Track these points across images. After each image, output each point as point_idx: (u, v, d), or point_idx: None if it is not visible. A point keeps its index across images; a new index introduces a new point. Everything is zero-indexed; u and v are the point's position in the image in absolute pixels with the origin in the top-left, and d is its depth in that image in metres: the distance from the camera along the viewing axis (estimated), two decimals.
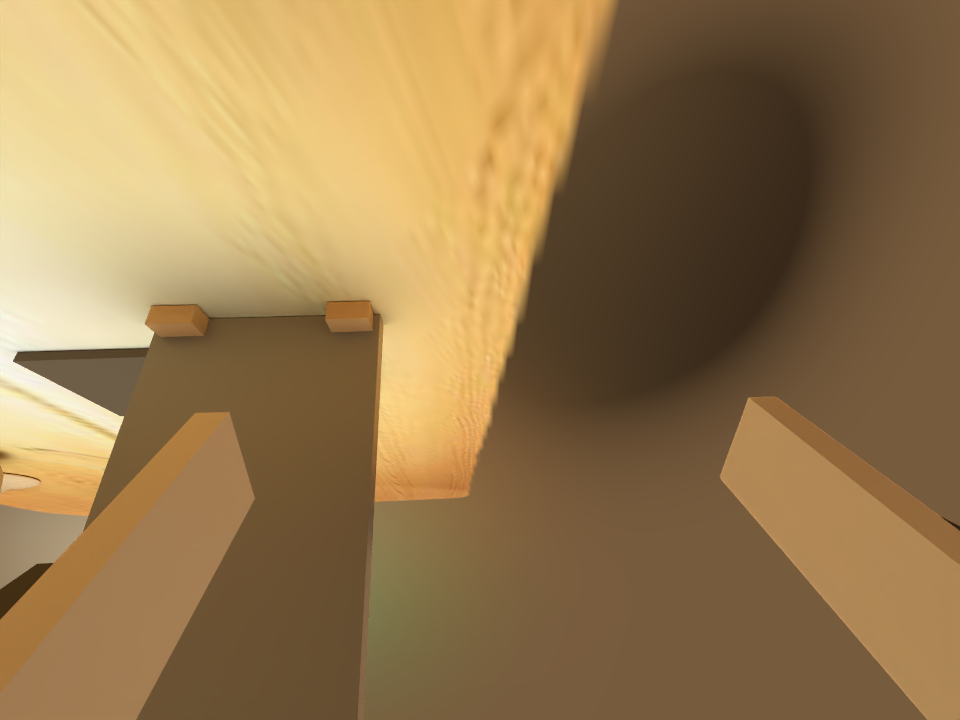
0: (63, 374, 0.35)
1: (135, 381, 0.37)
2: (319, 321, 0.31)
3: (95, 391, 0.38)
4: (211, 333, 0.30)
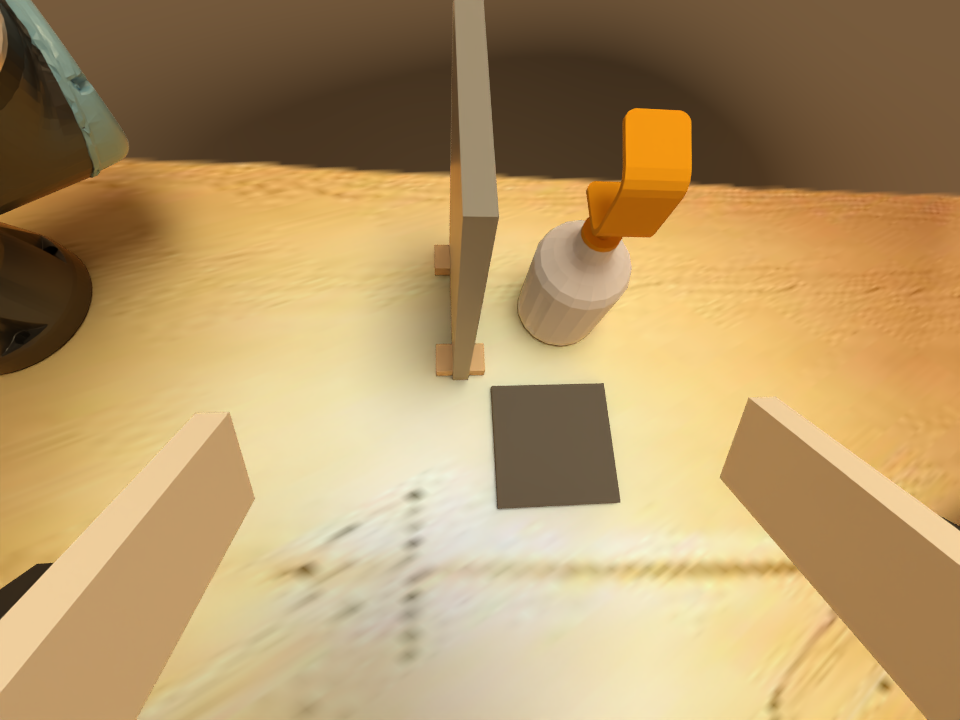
0: (522, 487, 0.40)
1: (536, 439, 0.42)
2: None
3: (558, 485, 0.40)
4: None
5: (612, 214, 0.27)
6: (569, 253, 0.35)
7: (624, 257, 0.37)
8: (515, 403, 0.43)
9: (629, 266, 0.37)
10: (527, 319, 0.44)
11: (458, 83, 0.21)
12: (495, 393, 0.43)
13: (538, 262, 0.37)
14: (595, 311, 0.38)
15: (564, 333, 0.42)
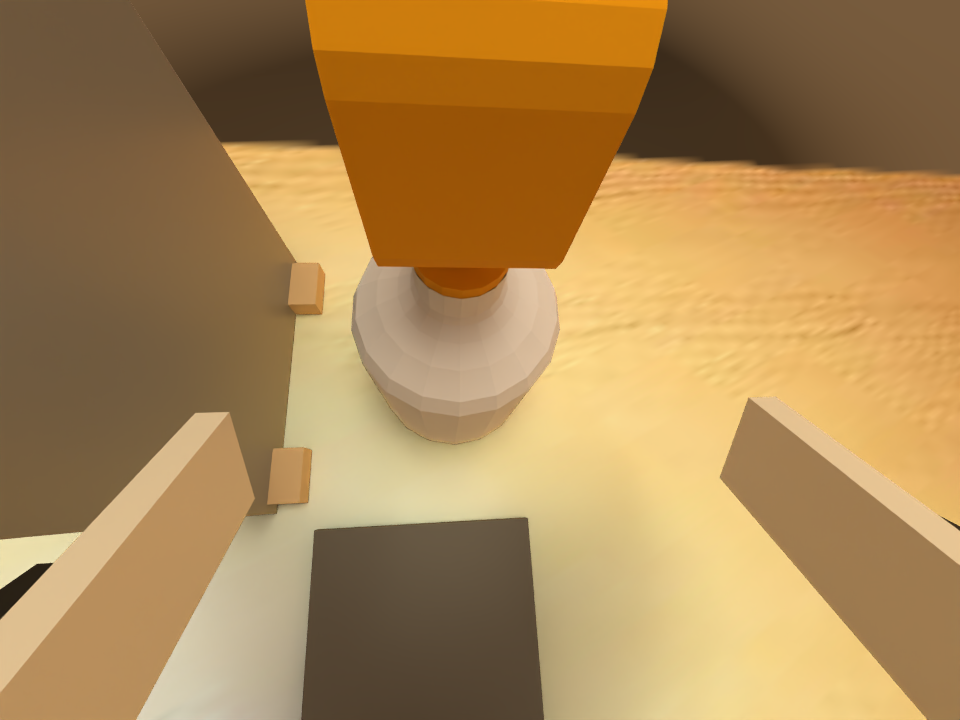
0: None
1: (389, 641, 0.22)
2: None
3: None
4: None
5: (367, 191, 0.07)
6: (404, 294, 0.15)
7: (538, 300, 0.17)
8: (355, 565, 0.23)
9: (551, 318, 0.17)
10: (386, 401, 0.24)
11: None
12: (319, 544, 0.23)
13: (354, 310, 0.17)
14: (480, 414, 0.17)
15: (445, 434, 0.22)
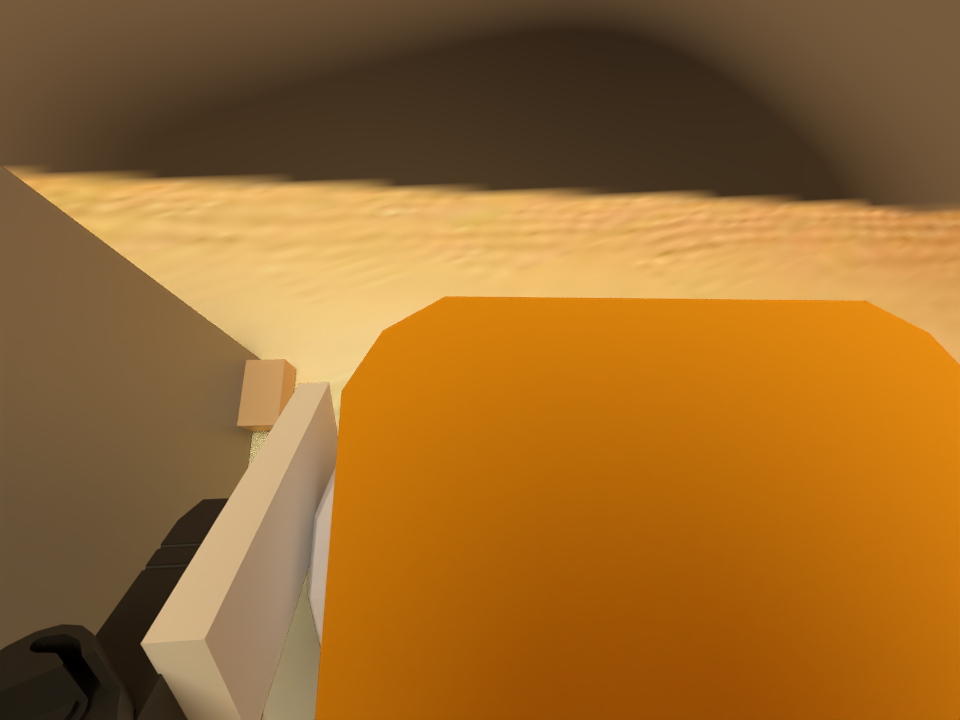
0: None
1: None
2: None
3: None
4: None
5: None
6: None
7: None
8: None
9: None
10: None
11: None
12: None
13: (312, 563, 0.09)
14: None
15: None
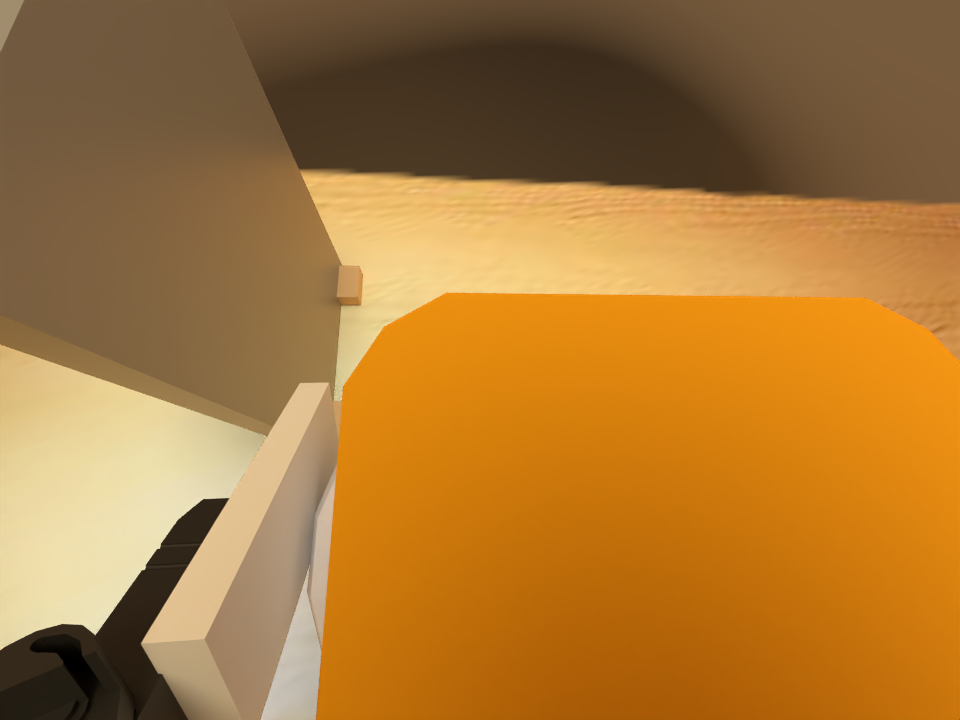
0: None
1: None
2: None
3: None
4: None
5: None
6: None
7: None
8: None
9: None
10: None
11: None
12: None
13: (312, 562, 0.09)
14: None
15: None
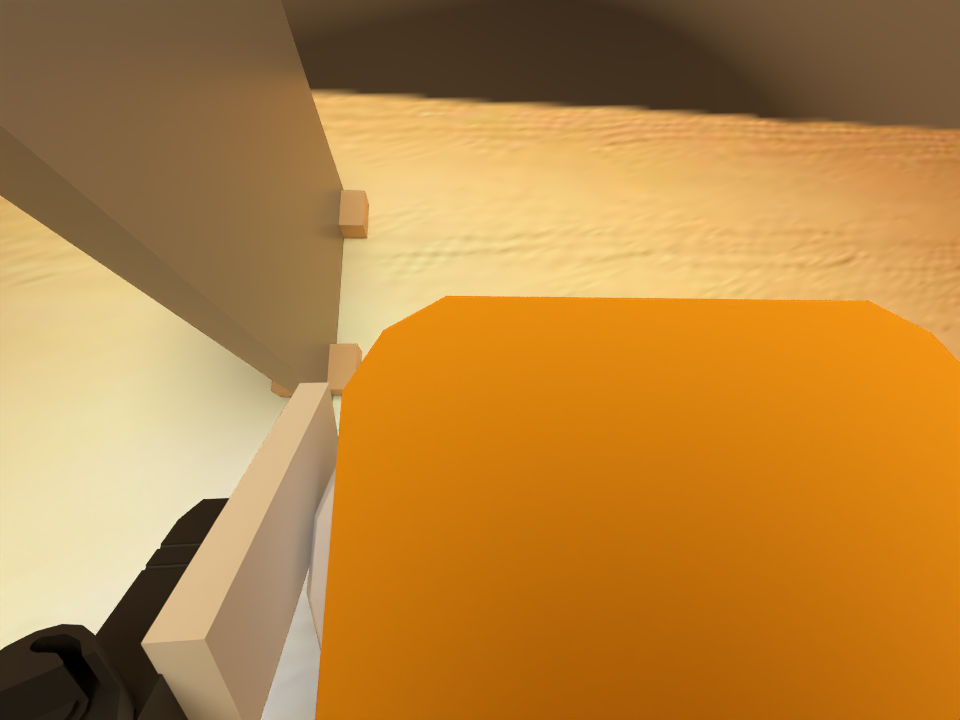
0: None
1: None
2: None
3: None
4: None
5: None
6: None
7: None
8: None
9: None
10: None
11: None
12: None
13: (312, 563, 0.09)
14: None
15: None
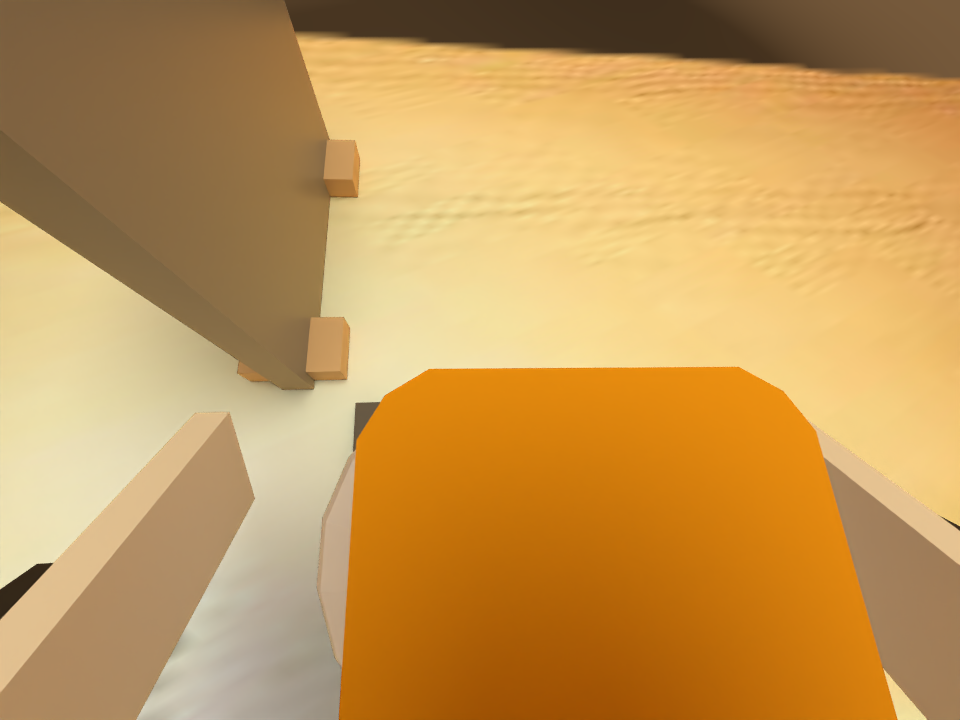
0: None
1: None
2: None
3: None
4: None
5: None
6: None
7: None
8: None
9: None
10: None
11: None
12: (361, 417, 0.21)
13: (321, 560, 0.10)
14: None
15: None
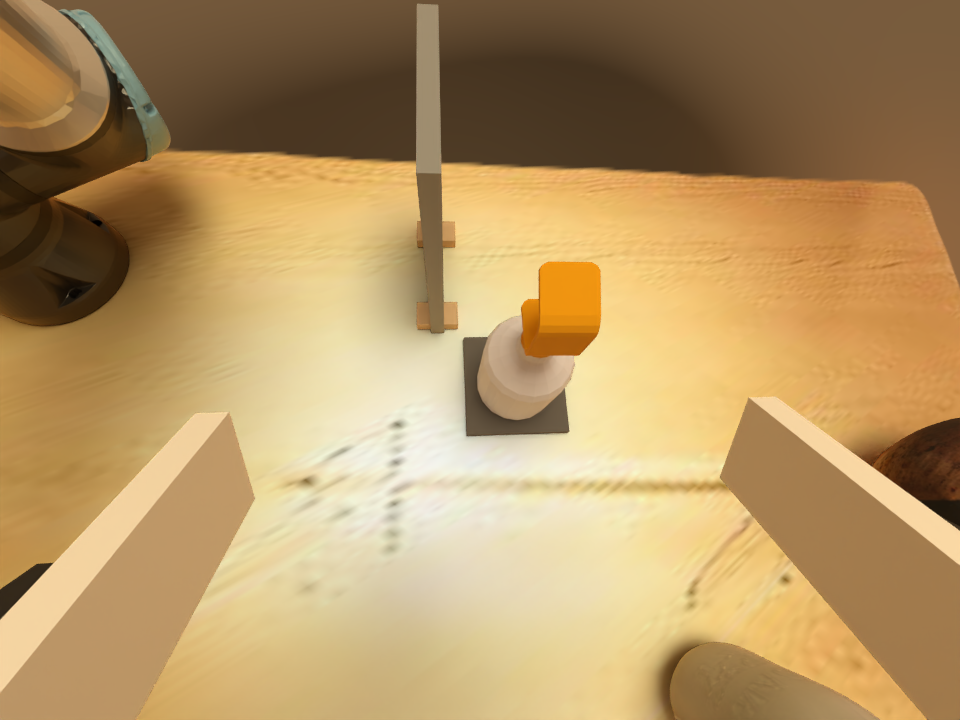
0: (487, 418, 0.48)
1: None
2: None
3: None
4: None
5: (535, 345, 0.29)
6: (513, 353, 0.38)
7: None
8: None
9: (571, 361, 0.40)
10: (484, 397, 0.47)
11: (417, 82, 0.29)
12: (466, 343, 0.51)
13: (486, 357, 0.40)
14: (540, 402, 0.40)
15: (517, 413, 0.45)
